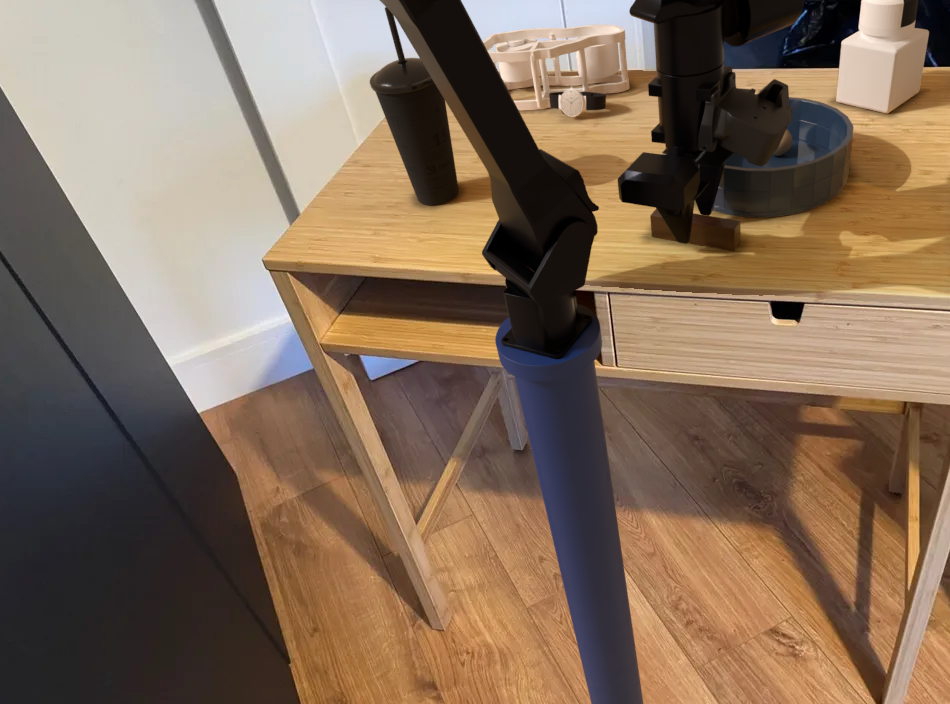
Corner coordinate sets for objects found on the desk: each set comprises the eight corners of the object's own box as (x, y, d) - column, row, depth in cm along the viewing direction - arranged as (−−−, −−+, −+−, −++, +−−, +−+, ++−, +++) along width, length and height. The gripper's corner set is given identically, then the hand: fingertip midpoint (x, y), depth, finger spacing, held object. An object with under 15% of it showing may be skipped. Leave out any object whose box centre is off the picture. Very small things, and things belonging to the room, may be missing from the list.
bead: (786, 162, 89) (787, 135, 86) (759, 159, 90) (760, 132, 88) (795, 150, 90) (797, 123, 88) (769, 146, 92) (770, 120, 89)
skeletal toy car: (635, 73, 113) (631, 15, 108) (621, 107, 105) (616, 47, 100) (498, 79, 117) (487, 24, 112) (475, 112, 110) (463, 55, 105)
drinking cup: (393, 209, 93) (334, 21, 79) (426, 177, 98) (376, -6, 84) (451, 214, 90) (400, 21, 76) (482, 181, 95) (440, -7, 81)
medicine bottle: (867, 81, 102) (879, -26, 94) (920, 92, 98) (938, -18, 89) (834, 102, 99) (844, -6, 90) (887, 115, 95) (903, 2, 86)
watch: (544, 117, 105) (540, 89, 103) (559, 102, 108) (555, 74, 106) (600, 120, 103) (596, 91, 100) (613, 104, 106) (610, 76, 103)
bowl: (818, 229, 80) (822, 180, 76) (658, 203, 87) (655, 159, 83) (867, 149, 90) (873, 104, 86) (720, 133, 97) (720, 90, 93)
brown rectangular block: (734, 251, 79) (734, 229, 77) (651, 236, 82) (650, 215, 81) (740, 242, 79) (740, 220, 78) (658, 228, 83) (656, 207, 81)
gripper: (739, 120, 60) (737, 296, 71) (819, 28, 71) (806, 193, 82) (606, 106, 65) (623, 273, 76) (700, 21, 76) (703, 179, 87)
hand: (694, 228), depth 80 cm, fingers open, 5 cm apart
